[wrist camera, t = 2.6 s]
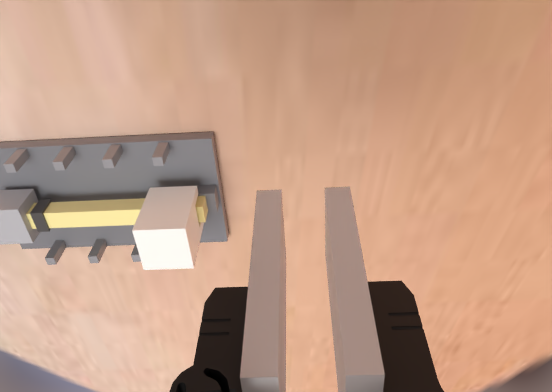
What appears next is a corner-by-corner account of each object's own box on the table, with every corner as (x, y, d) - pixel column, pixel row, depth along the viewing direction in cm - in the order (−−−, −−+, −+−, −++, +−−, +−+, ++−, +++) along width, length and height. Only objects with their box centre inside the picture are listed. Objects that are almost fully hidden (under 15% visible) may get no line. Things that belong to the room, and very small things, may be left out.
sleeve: (159, 225, 43) (143, 269, 39) (149, 187, 41) (132, 230, 37) (203, 223, 43) (193, 268, 39) (196, 185, 41) (185, 228, 36)
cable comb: (27, 240, 49) (4, 275, 45) (-18, 142, 42) (-50, 173, 38) (228, 233, 47) (223, 268, 43) (213, 131, 41) (205, 161, 37)
